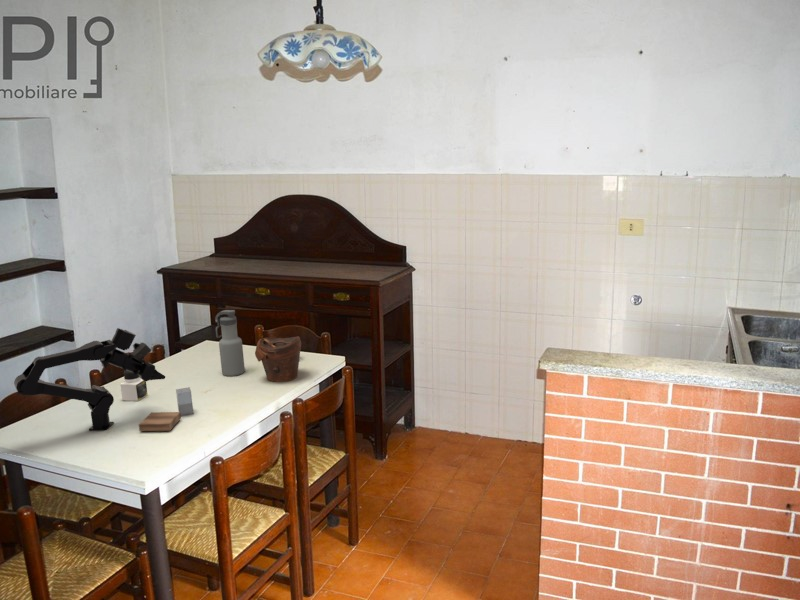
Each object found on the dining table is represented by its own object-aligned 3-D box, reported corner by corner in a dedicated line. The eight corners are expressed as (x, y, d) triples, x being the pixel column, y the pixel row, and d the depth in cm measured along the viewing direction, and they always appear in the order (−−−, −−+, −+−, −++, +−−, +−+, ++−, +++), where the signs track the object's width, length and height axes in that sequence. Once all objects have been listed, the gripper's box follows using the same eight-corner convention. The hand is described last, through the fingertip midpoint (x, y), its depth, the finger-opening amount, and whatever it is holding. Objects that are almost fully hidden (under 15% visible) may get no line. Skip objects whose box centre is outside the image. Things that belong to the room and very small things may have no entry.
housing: (193, 414, 265) (191, 391, 263) (179, 416, 264) (177, 393, 262) (192, 409, 270) (189, 387, 268) (178, 411, 268) (175, 389, 266)
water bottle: (216, 375, 307) (210, 313, 301) (228, 368, 316) (222, 307, 310) (237, 377, 304) (231, 314, 298) (249, 370, 313) (243, 308, 307)
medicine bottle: (138, 401, 281) (134, 372, 278) (122, 400, 282) (118, 372, 280) (148, 394, 288) (144, 366, 285) (132, 394, 289) (128, 366, 286)
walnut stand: (170, 431, 250) (169, 424, 249) (139, 432, 250) (138, 424, 250) (181, 419, 260) (180, 411, 260) (152, 420, 261) (151, 412, 260)
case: (252, 375, 305) (249, 335, 301) (296, 367, 314) (293, 328, 310) (264, 388, 290) (261, 346, 286) (310, 379, 299) (308, 338, 294)
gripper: (140, 345, 251) (179, 360, 261) (125, 335, 266) (162, 350, 275) (126, 373, 250) (165, 388, 259) (111, 362, 264) (148, 376, 274)
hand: (160, 374), depth 267 cm, fingers open, 9 cm apart
